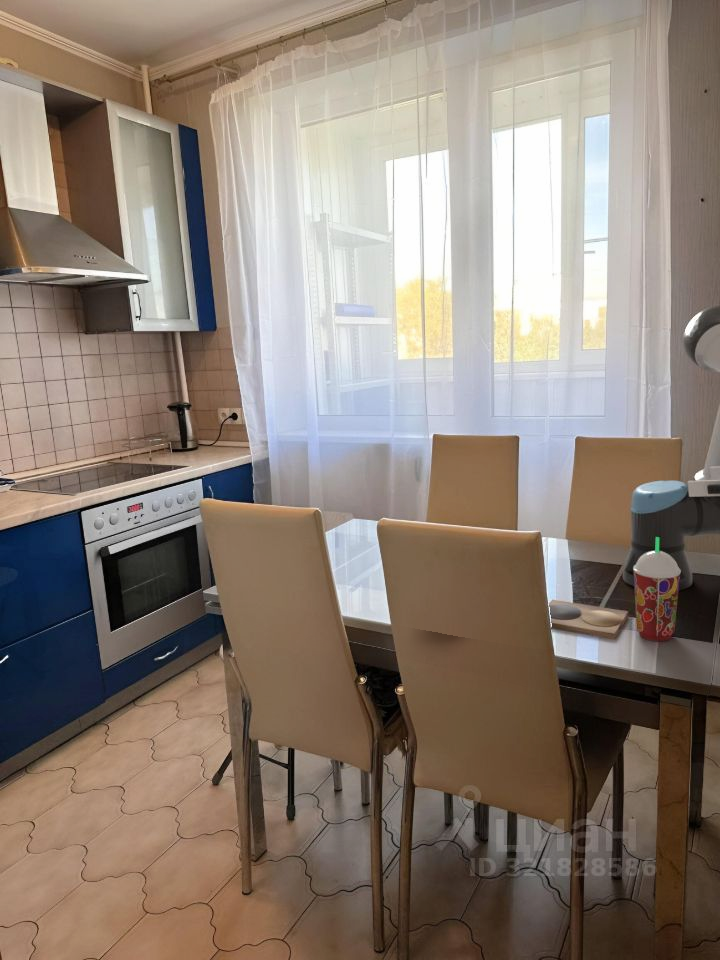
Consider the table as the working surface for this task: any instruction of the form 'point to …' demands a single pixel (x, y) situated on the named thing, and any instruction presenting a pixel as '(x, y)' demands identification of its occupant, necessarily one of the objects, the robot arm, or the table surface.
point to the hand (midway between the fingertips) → (700, 481)
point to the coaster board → (587, 619)
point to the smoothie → (656, 594)
